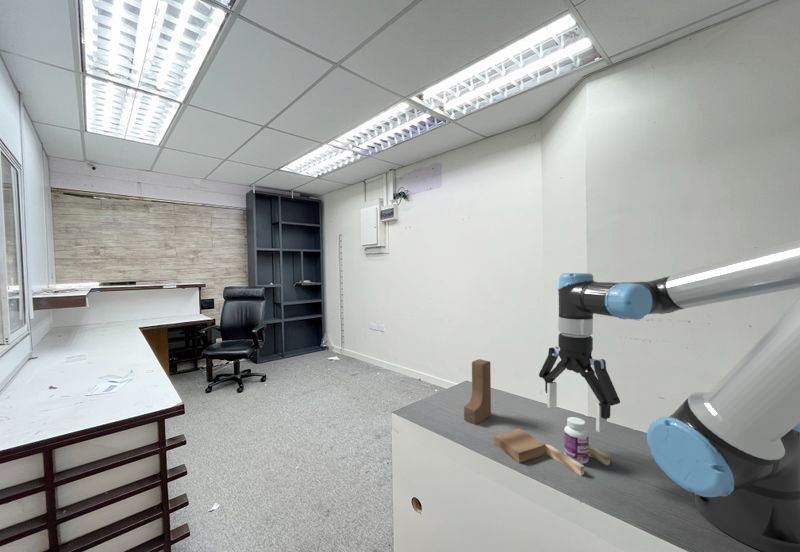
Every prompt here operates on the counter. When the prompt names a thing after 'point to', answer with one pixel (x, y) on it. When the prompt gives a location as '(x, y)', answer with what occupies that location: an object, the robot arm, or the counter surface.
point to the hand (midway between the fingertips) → (574, 417)
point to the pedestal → (520, 445)
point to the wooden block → (479, 393)
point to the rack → (574, 464)
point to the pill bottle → (576, 440)
